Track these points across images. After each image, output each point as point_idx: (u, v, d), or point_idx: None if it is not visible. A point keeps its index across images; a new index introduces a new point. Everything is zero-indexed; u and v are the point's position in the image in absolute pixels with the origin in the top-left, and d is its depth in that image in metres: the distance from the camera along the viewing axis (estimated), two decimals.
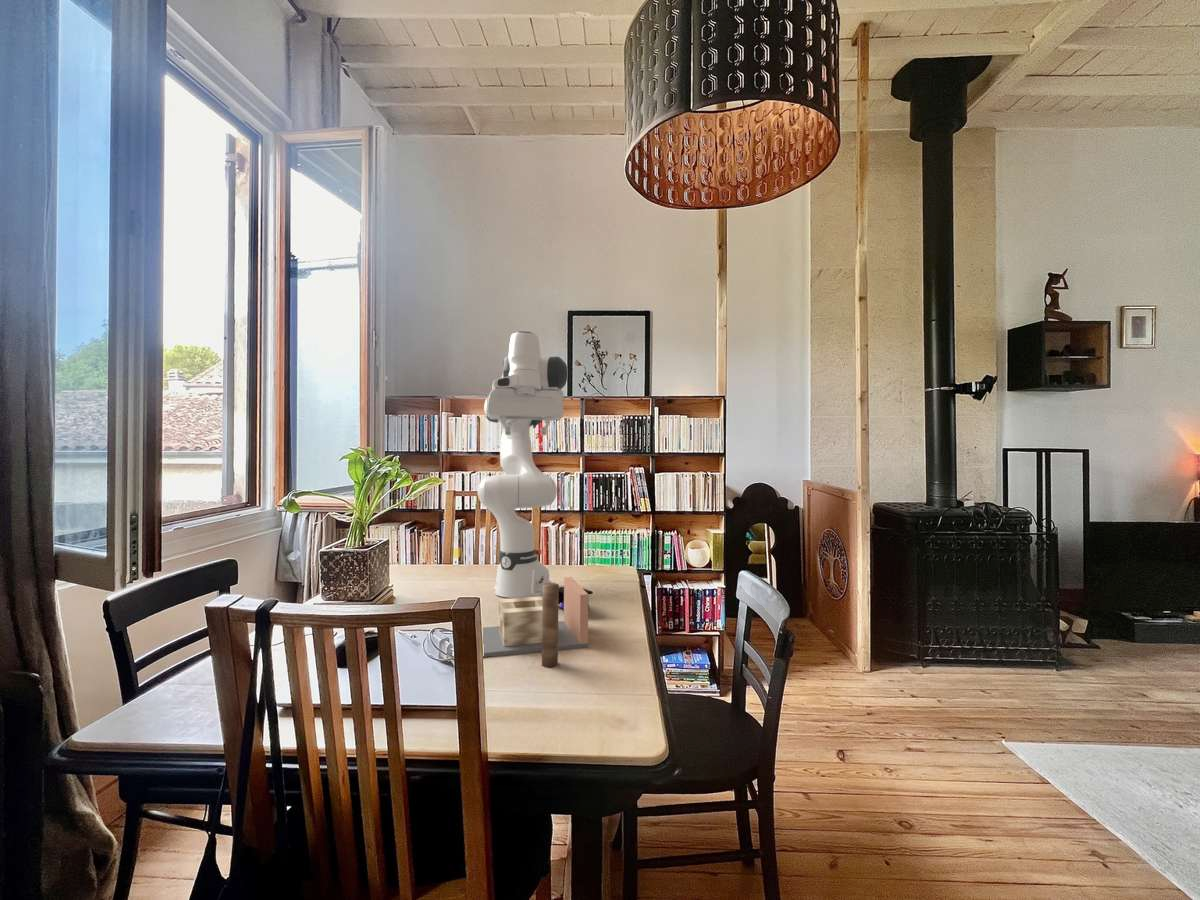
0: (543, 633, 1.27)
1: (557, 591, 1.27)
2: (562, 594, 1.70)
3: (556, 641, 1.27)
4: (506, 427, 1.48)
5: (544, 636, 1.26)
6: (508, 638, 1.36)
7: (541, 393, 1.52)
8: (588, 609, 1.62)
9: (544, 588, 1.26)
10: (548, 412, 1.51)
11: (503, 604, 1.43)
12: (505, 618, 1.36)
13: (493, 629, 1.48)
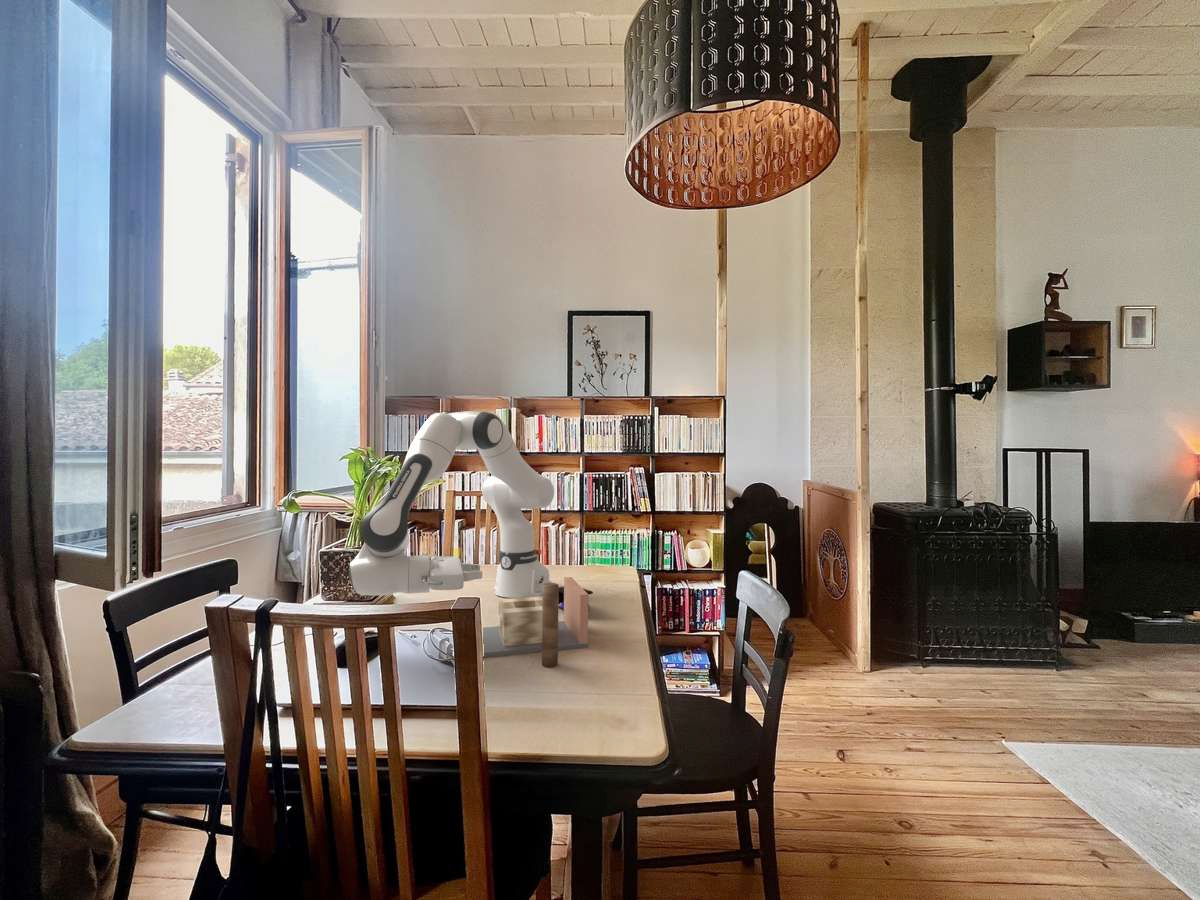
0: (543, 633, 1.27)
1: (557, 591, 1.27)
2: (562, 594, 1.70)
3: (556, 641, 1.27)
4: None
5: (544, 636, 1.26)
6: (508, 638, 1.36)
7: None
8: (588, 609, 1.62)
9: (544, 588, 1.26)
10: None
11: (503, 604, 1.43)
12: (505, 618, 1.36)
13: (493, 629, 1.48)
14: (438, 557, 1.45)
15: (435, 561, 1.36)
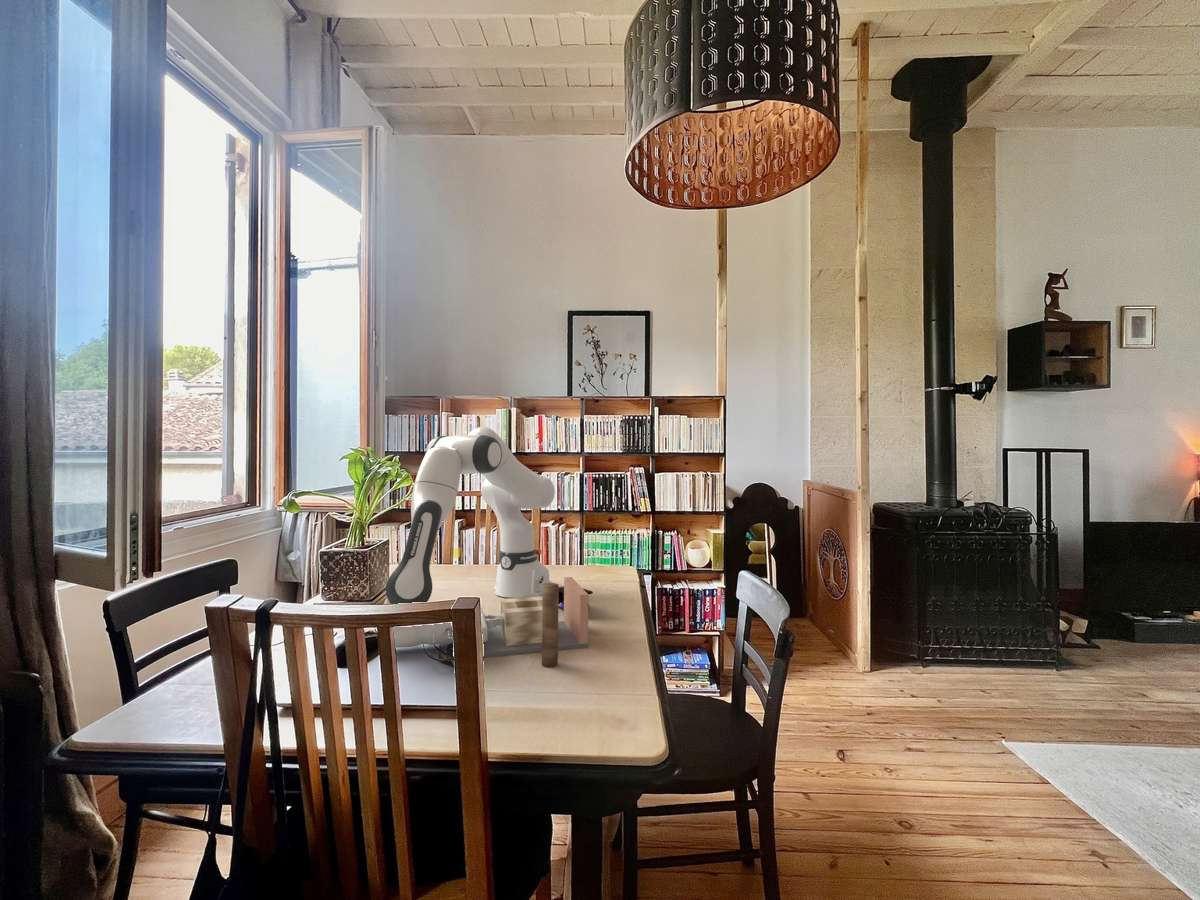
0: (543, 633, 1.27)
1: (557, 591, 1.27)
2: (562, 594, 1.70)
3: (556, 641, 1.27)
4: None
5: (544, 636, 1.26)
6: (510, 638, 1.36)
7: None
8: (588, 609, 1.62)
9: (544, 588, 1.26)
10: None
11: (505, 604, 1.43)
12: (507, 618, 1.36)
13: (493, 629, 1.48)
14: None
15: None
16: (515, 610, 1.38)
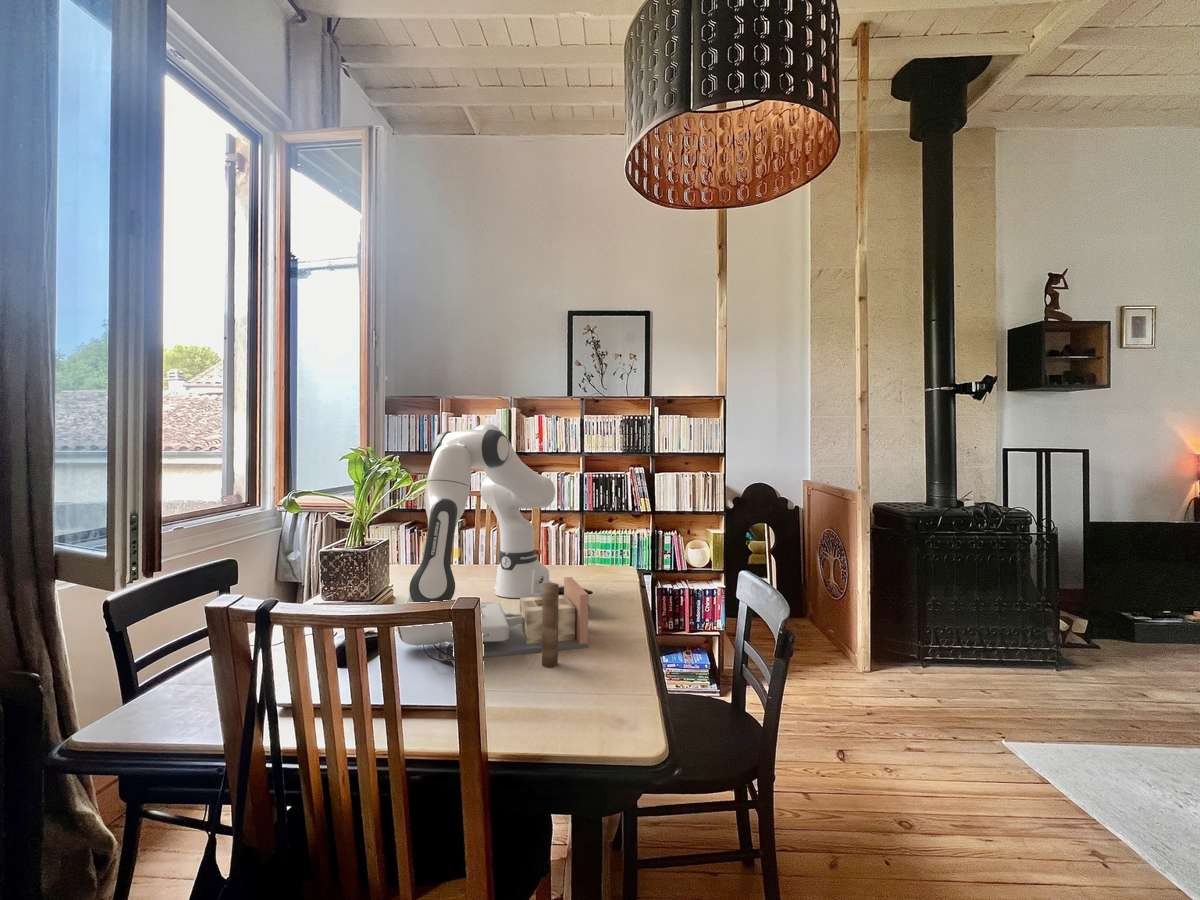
0: (543, 633, 1.27)
1: (557, 591, 1.27)
2: (562, 594, 1.70)
3: (556, 641, 1.27)
4: None
5: (544, 636, 1.26)
6: (531, 636, 1.38)
7: None
8: (588, 609, 1.62)
9: (544, 588, 1.26)
10: None
11: (525, 602, 1.44)
12: (528, 616, 1.37)
13: None
14: None
15: None
16: (535, 608, 1.39)
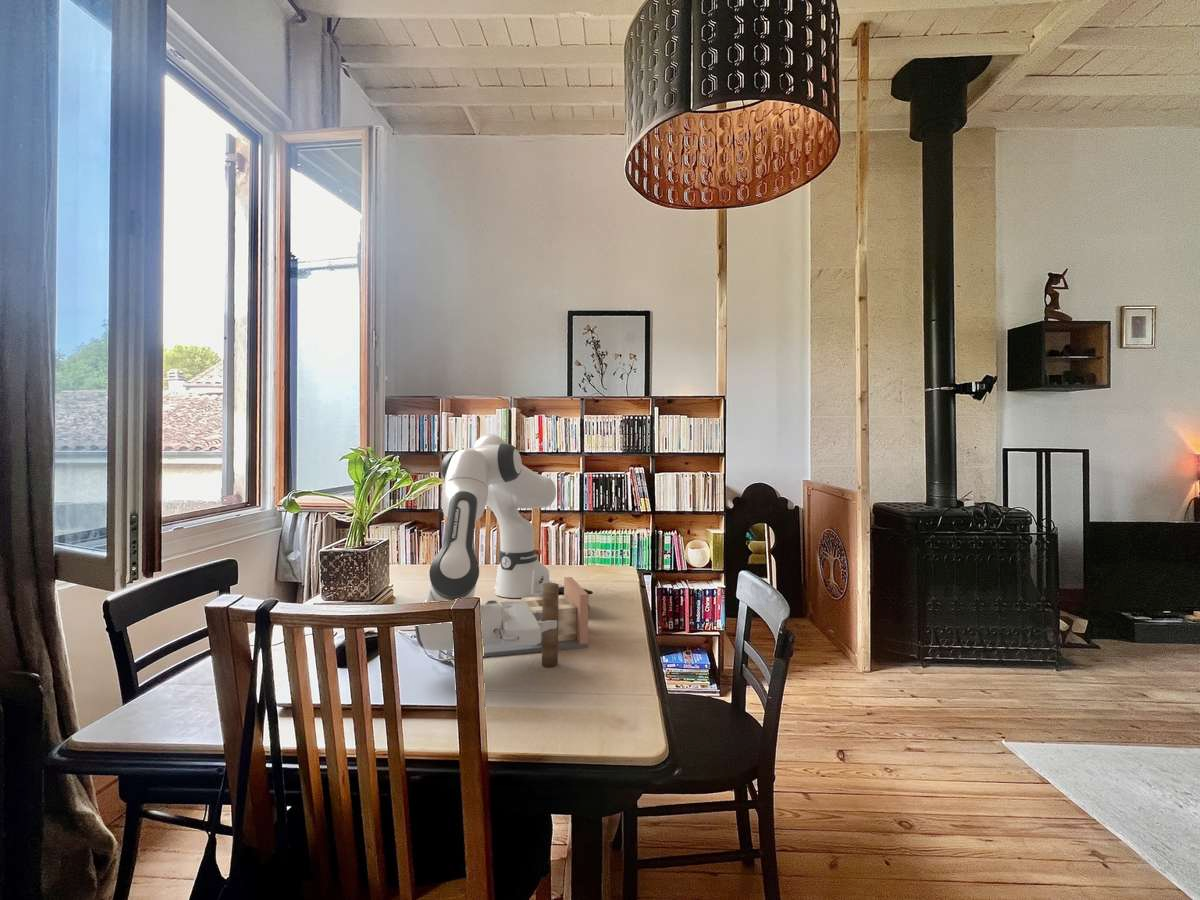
0: (543, 633, 1.27)
1: (557, 591, 1.27)
2: (562, 594, 1.70)
3: (556, 641, 1.27)
4: None
5: (544, 636, 1.26)
6: None
7: None
8: (588, 609, 1.62)
9: (544, 588, 1.26)
10: None
11: (526, 602, 1.45)
12: None
13: None
14: (505, 603, 1.33)
15: (506, 611, 1.24)
16: (537, 608, 1.39)
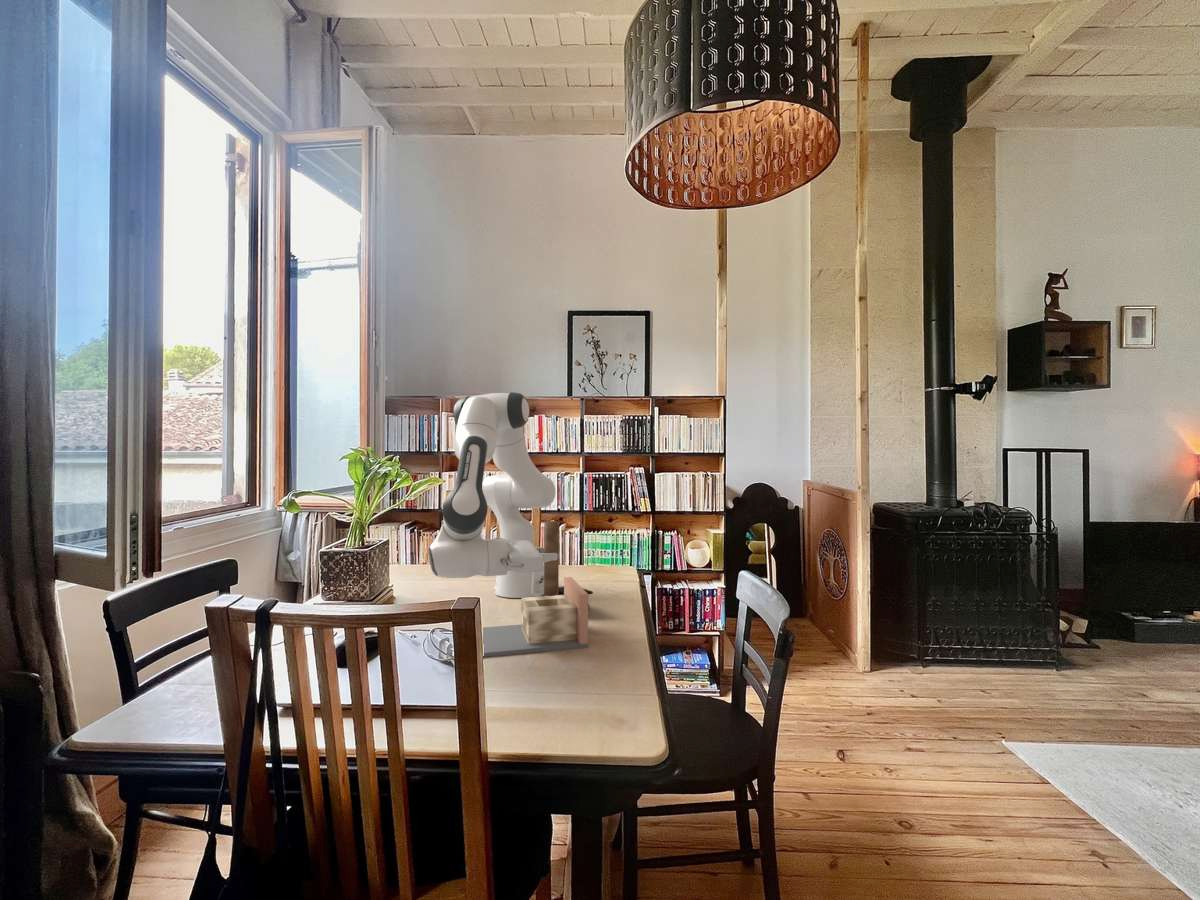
0: (545, 565, 1.40)
1: (557, 527, 1.40)
2: (562, 594, 1.70)
3: (557, 572, 1.40)
4: None
5: (546, 568, 1.40)
6: (532, 636, 1.38)
7: None
8: (588, 609, 1.62)
9: (545, 524, 1.39)
10: None
11: (526, 602, 1.45)
12: (529, 616, 1.38)
13: (493, 629, 1.48)
14: (510, 541, 1.46)
15: (511, 544, 1.37)
16: (537, 608, 1.39)
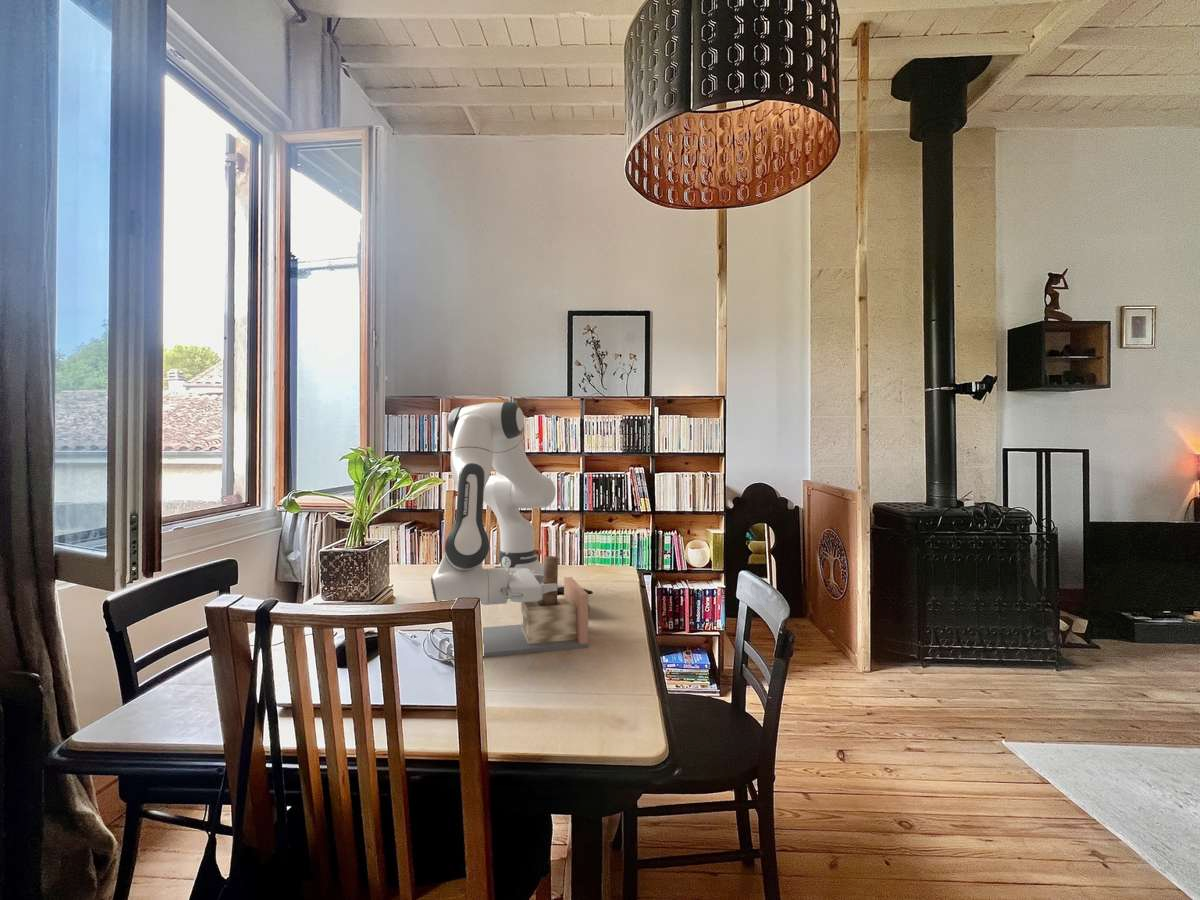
0: (544, 600, 1.44)
1: (556, 563, 1.44)
2: (562, 594, 1.70)
3: None
4: None
5: (545, 602, 1.44)
6: (532, 636, 1.38)
7: None
8: (588, 609, 1.62)
9: (545, 560, 1.43)
10: None
11: (526, 602, 1.45)
12: (529, 616, 1.38)
13: (493, 629, 1.48)
14: (510, 569, 1.50)
15: (511, 573, 1.41)
16: (537, 608, 1.39)
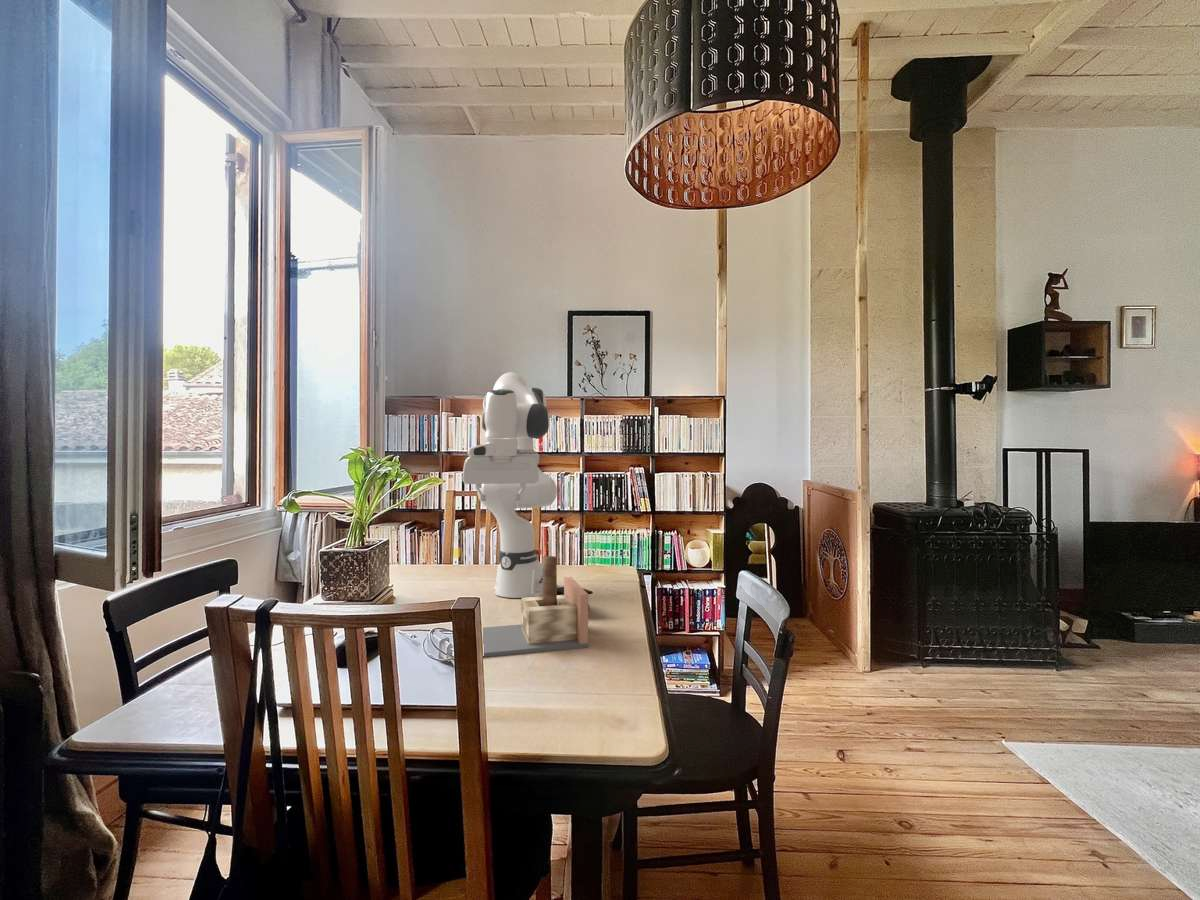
0: (543, 600, 1.44)
1: (555, 563, 1.44)
2: (562, 594, 1.70)
3: None
4: (481, 495, 1.51)
5: (544, 602, 1.44)
6: (532, 636, 1.38)
7: (517, 459, 1.52)
8: (588, 609, 1.62)
9: (544, 560, 1.44)
10: (523, 480, 1.53)
11: (526, 602, 1.45)
12: (529, 616, 1.38)
13: (493, 629, 1.48)
14: None
15: None
16: (537, 608, 1.39)
